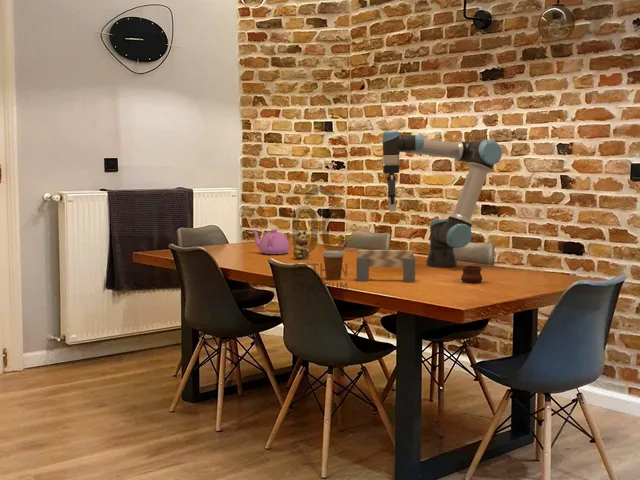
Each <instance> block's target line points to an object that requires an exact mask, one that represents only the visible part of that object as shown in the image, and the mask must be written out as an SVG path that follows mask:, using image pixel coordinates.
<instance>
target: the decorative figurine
mask: <svg viewBox="0 0 640 480" xmlns="http://www.w3.org/2000/svg"><path fill="white" fill-rule="evenodd" d="M310 235H311V234H310V233H307V232H306V230H303V231H302V232H301V231H299V232H298V233H297V234H296V236H295V238H294V241H295V245H294V247H293V250H292V254H293V257H294V258H295V259H296V260H299V259H300V260H302V261H303V260H308V259H309V257H311V254H310V249H309V248H308V247H307V246H308V245H309V239H308V237H310Z"/></svg>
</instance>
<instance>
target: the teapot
mask: <svg viewBox="0 0 640 480" xmlns="http://www.w3.org/2000/svg"><path fill="white" fill-rule="evenodd" d="M251 231H252V232H253V233H254V243H255V245H256V246H257V247H258V250H259V252H260V253H262V254H263V253H265V255H266V254H270V255H276V254H281V255H286V254H287V253H288V252H289V251H290V249H291V247H290V242H289V240H288V238H287V237H286V235H285V233H283V232H278V229H275V228H273V229H271V230H270V232H265V233H264V234H263V236H262V238H261V239H260V238H259V233H258V231H257V230H255V229H251Z"/></svg>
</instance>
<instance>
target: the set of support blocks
mask: <svg viewBox="0 0 640 480" xmlns="http://www.w3.org/2000/svg"><path fill="white" fill-rule="evenodd" d="M369 270H370V268H369V267H368V258H358V255H357V257H356V275H355V276H356V279H355V280H356V282H369V278H370V271H369ZM415 280H416V257H415V256H413V258H403V267H402V282H403V283H416V281H415Z"/></svg>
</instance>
